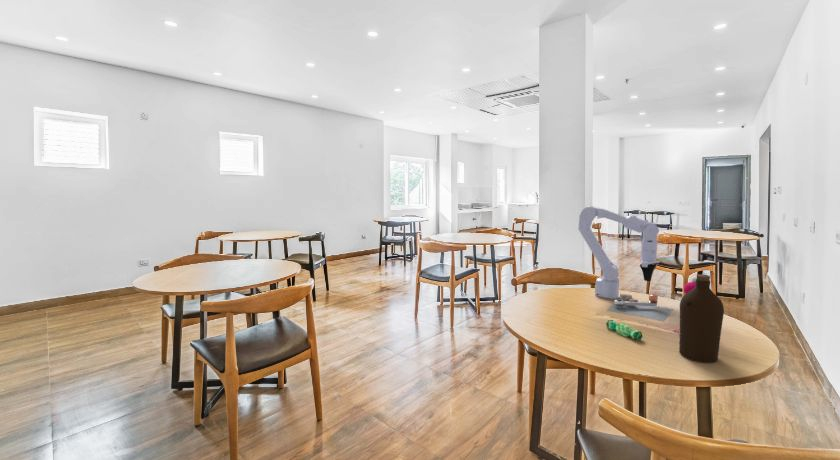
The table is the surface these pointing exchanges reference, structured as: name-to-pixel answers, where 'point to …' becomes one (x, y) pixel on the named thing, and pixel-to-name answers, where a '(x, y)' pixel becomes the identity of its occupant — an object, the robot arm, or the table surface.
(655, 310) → the nutcracker base
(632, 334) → the candy
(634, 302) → the lever
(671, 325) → the table surface
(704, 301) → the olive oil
